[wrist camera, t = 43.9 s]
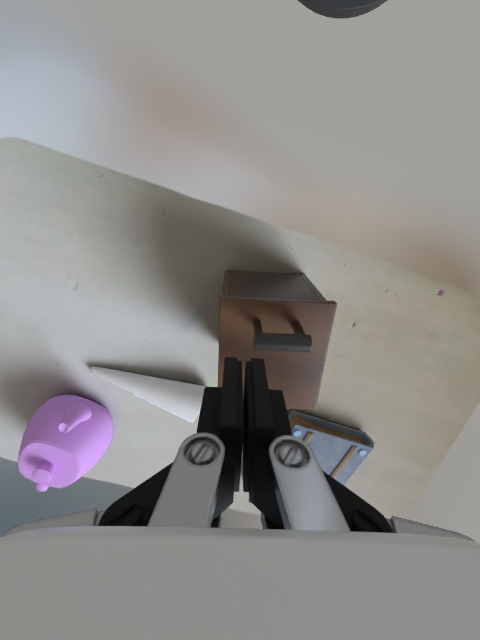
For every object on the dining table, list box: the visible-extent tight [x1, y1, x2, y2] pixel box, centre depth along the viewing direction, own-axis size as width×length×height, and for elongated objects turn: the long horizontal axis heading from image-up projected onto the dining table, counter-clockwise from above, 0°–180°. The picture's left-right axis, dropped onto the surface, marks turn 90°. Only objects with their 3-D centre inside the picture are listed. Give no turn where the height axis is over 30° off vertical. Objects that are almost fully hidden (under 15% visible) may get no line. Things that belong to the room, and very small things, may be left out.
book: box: [288, 410, 374, 486], centre depth 55 cm, size 21×16×5 cm
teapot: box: [18, 394, 113, 491], centre depth 47 cm, size 20×13×12 cm, turn 151°
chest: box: [222, 270, 326, 301], centre depth 38 cm, size 13×12×14 cm
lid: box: [218, 296, 337, 410], centre depth 29 cm, size 13×12×6 cm
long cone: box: [89, 367, 207, 423], centre depth 47 cm, size 6×6×19 cm
